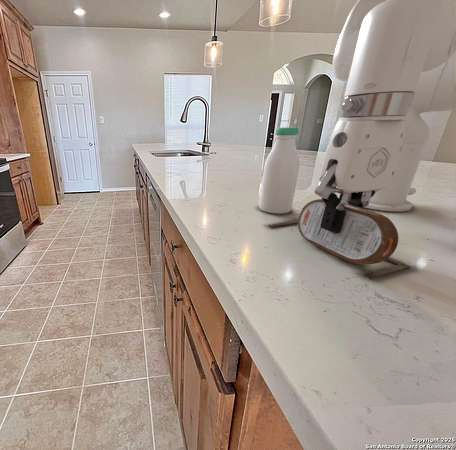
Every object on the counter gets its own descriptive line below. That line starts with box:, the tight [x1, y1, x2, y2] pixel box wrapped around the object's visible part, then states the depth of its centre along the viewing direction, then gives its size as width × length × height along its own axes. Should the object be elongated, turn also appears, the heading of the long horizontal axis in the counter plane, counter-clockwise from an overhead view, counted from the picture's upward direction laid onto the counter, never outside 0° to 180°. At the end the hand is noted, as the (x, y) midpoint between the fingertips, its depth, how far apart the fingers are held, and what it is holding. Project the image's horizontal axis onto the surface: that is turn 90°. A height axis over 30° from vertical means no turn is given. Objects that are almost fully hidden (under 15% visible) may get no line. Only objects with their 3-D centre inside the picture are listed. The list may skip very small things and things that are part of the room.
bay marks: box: [268, 219, 412, 280], centre depth 46 cm, size 8×21×1 cm, turn 17°
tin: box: [297, 198, 399, 265], centre depth 41 cm, size 15×3×8 cm, turn 17°
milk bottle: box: [258, 126, 300, 214], centre depth 60 cm, size 8×8×20 cm
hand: (338, 228), depth 41 cm, fingers closed on tin, 3 cm apart
